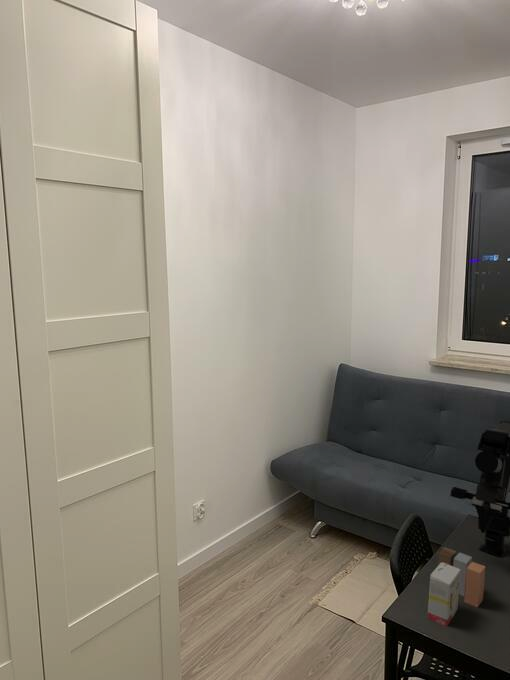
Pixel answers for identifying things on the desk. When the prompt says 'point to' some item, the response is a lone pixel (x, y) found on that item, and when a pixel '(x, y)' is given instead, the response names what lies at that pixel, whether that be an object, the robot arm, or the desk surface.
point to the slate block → (462, 570)
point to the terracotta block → (474, 584)
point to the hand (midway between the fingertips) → (482, 532)
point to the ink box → (443, 593)
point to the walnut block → (446, 556)
